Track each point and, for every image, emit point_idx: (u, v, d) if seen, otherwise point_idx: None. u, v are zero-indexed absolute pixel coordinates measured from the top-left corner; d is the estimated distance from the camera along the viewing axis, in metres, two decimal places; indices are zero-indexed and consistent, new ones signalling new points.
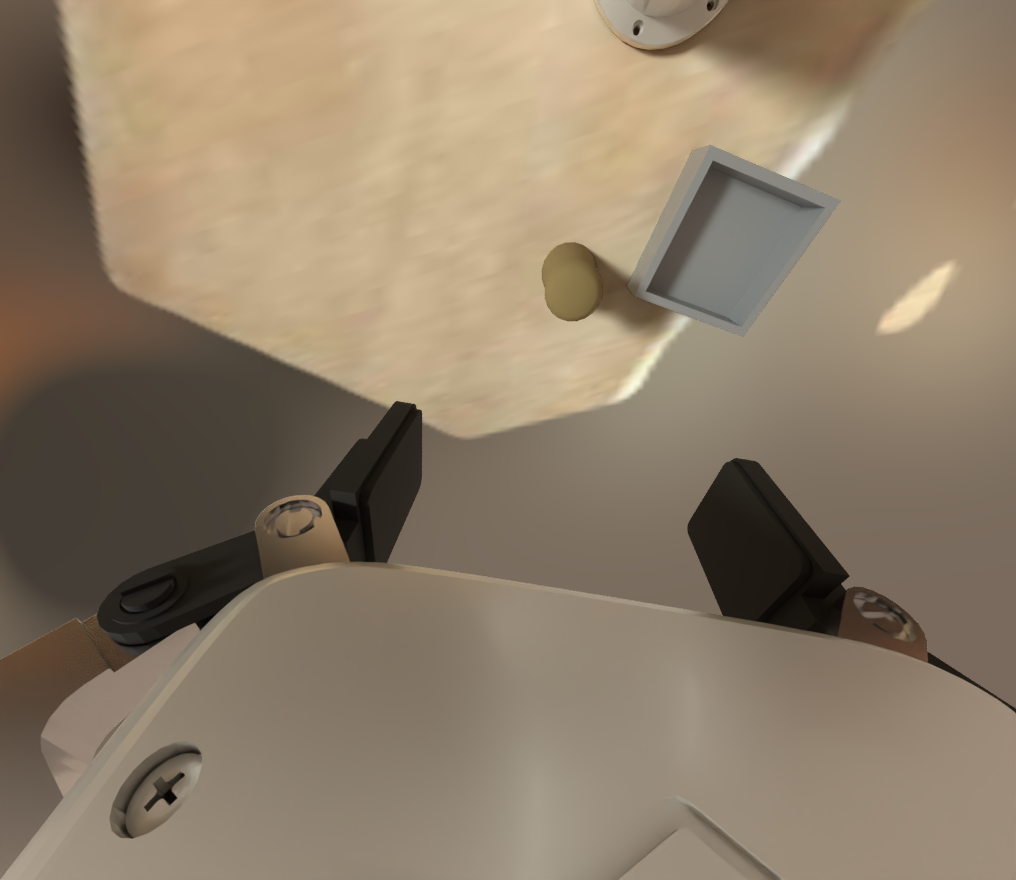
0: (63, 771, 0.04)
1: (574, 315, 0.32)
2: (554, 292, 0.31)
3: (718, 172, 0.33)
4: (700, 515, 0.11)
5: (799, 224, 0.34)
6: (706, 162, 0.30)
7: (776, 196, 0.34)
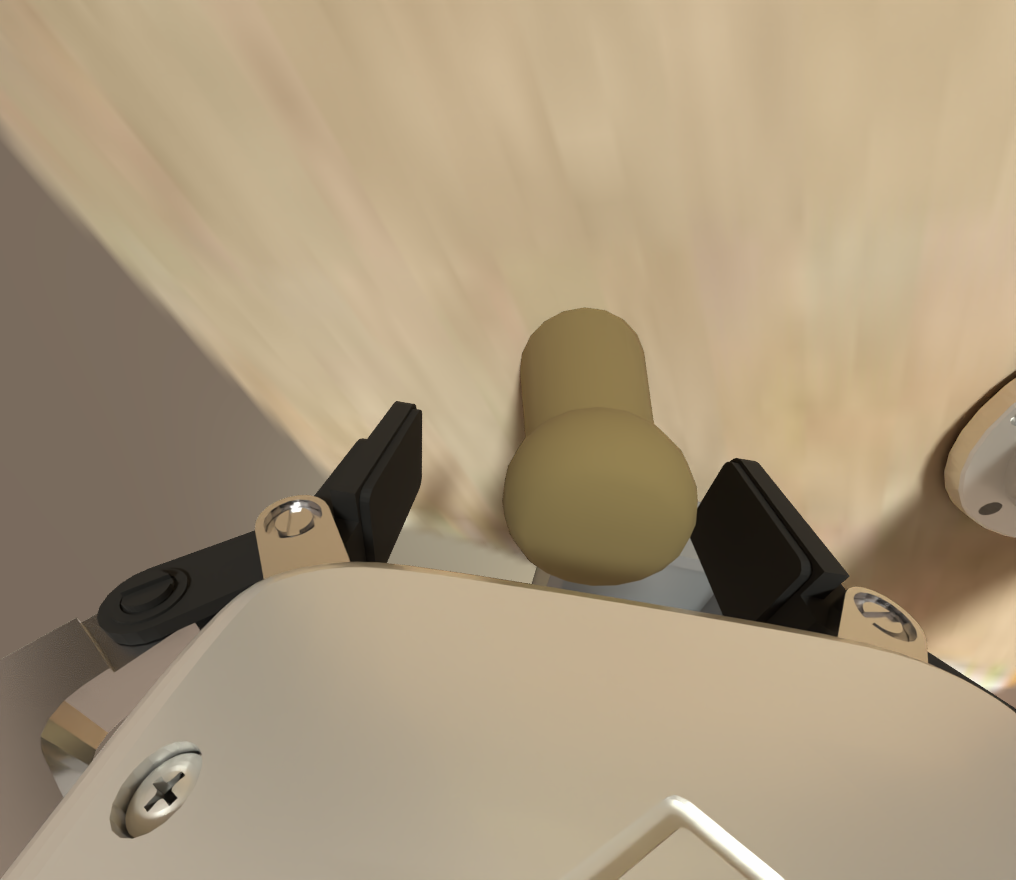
0: (63, 771, 0.04)
1: (530, 546, 0.09)
2: (604, 486, 0.08)
3: None
4: (700, 516, 0.11)
5: None
6: None
7: None
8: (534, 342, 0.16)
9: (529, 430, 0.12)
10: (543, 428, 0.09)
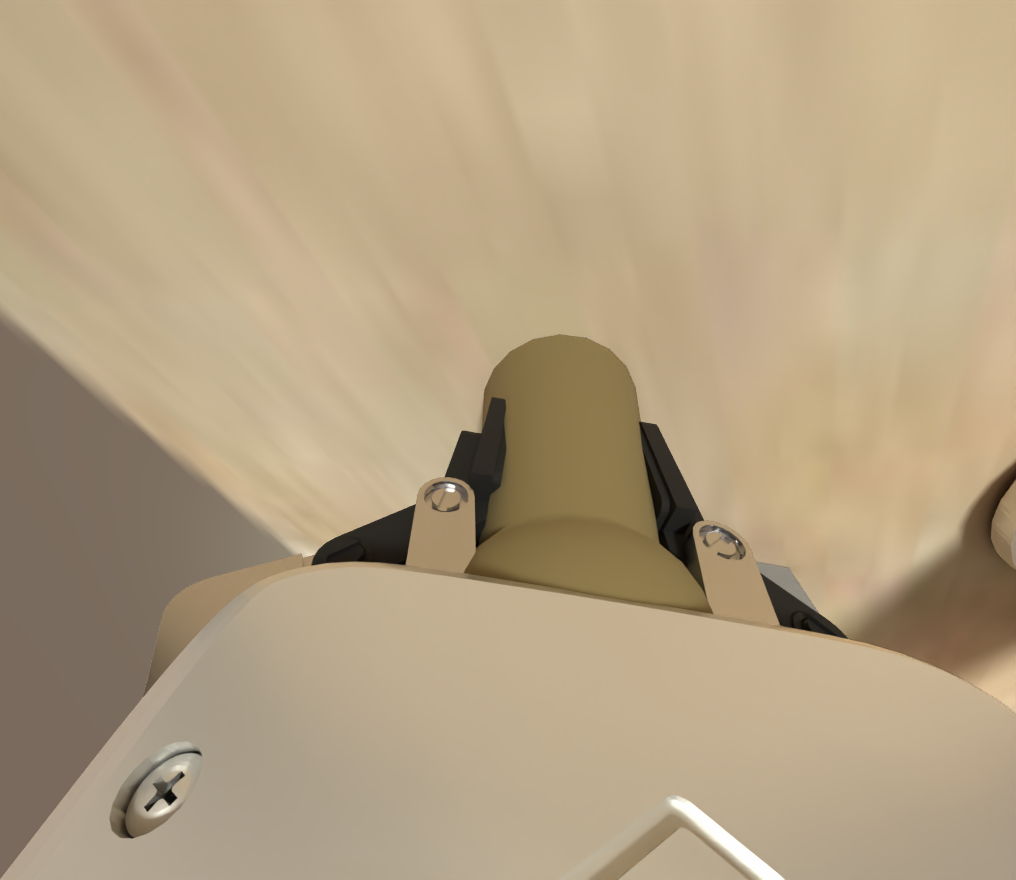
0: None
1: None
2: None
3: None
4: None
5: None
6: None
7: None
8: (497, 380, 0.13)
9: None
10: (485, 561, 0.06)
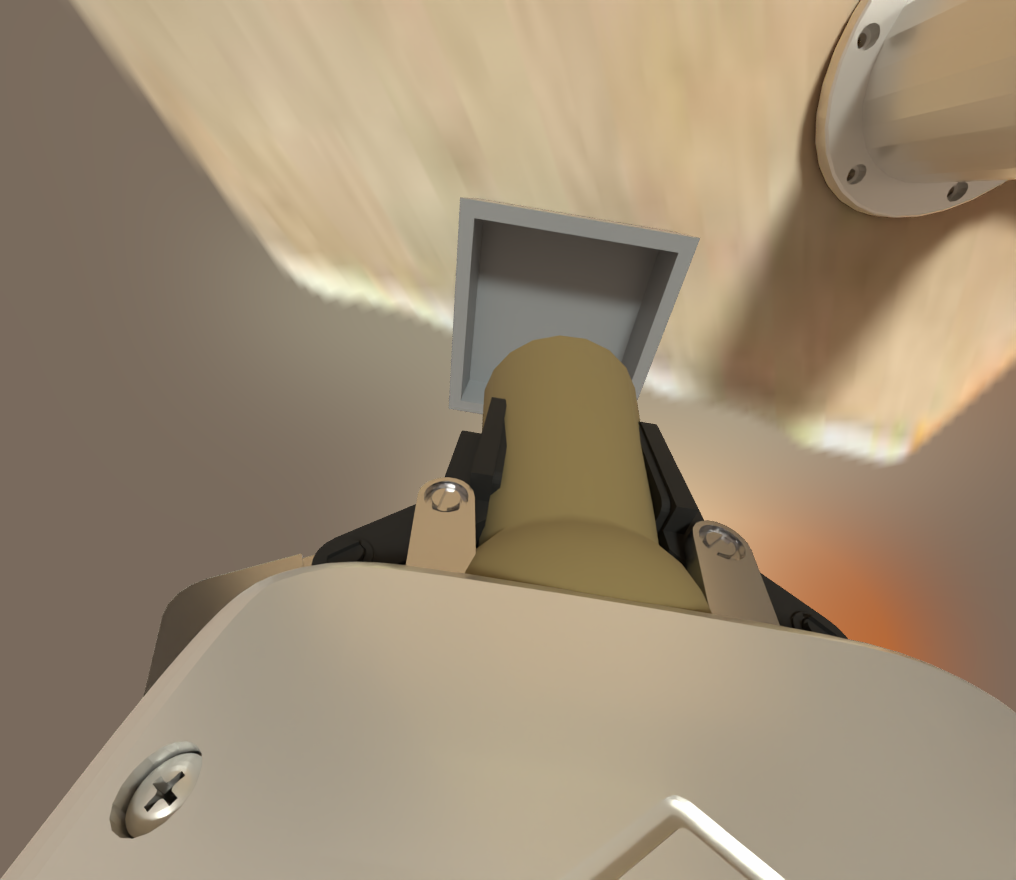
0: None
1: None
2: None
3: (648, 281, 0.23)
4: None
5: None
6: (676, 242, 0.19)
7: None
8: (497, 380, 0.13)
9: None
10: (485, 562, 0.06)
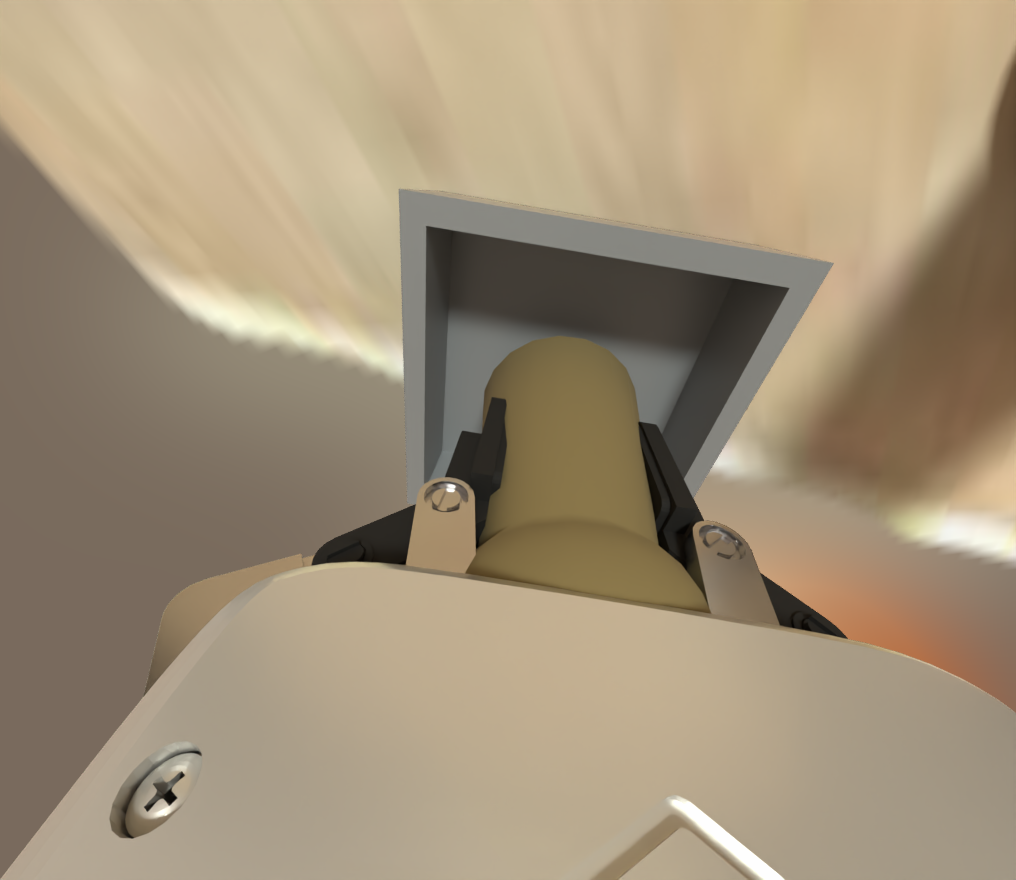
0: None
1: None
2: None
3: (712, 323, 0.15)
4: None
5: None
6: (789, 270, 0.10)
7: None
8: (497, 381, 0.13)
9: None
10: (485, 562, 0.06)
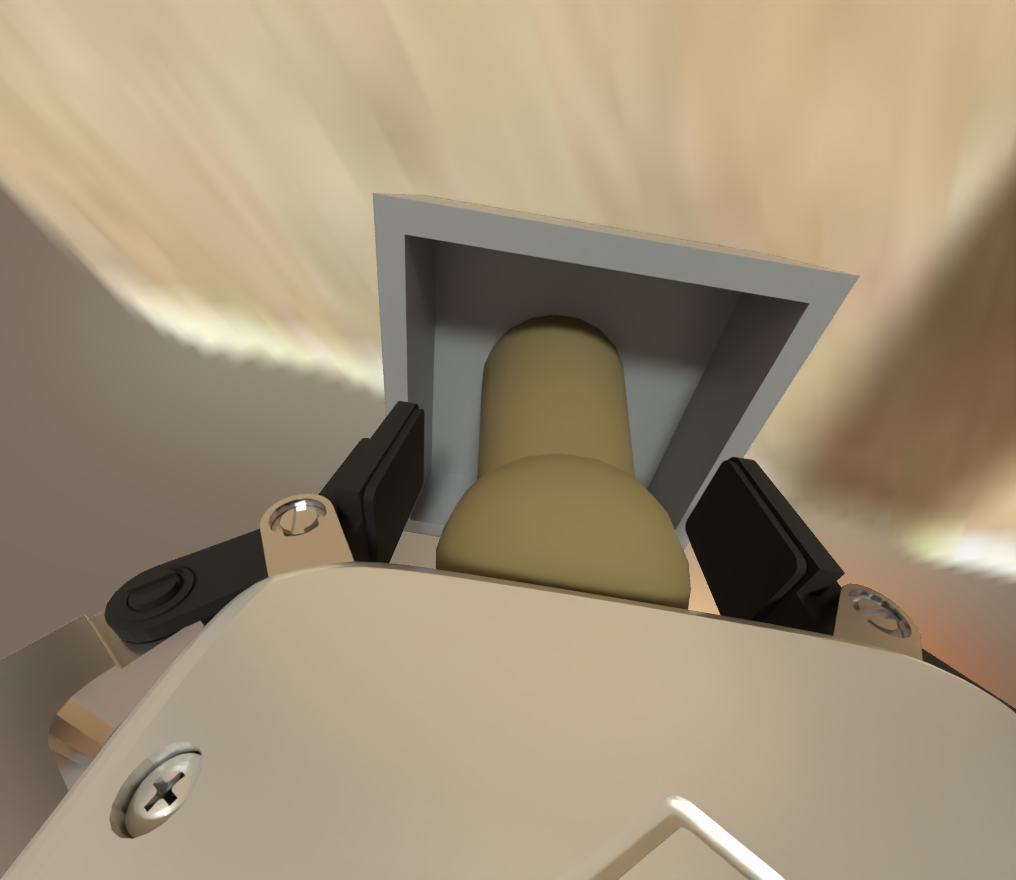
0: (70, 767, 0.04)
1: None
2: (562, 583, 0.06)
3: (719, 337, 0.14)
4: (698, 514, 0.11)
5: None
6: (809, 284, 0.09)
7: (659, 463, 0.17)
8: (496, 354, 0.14)
9: (479, 471, 0.10)
10: (485, 484, 0.07)
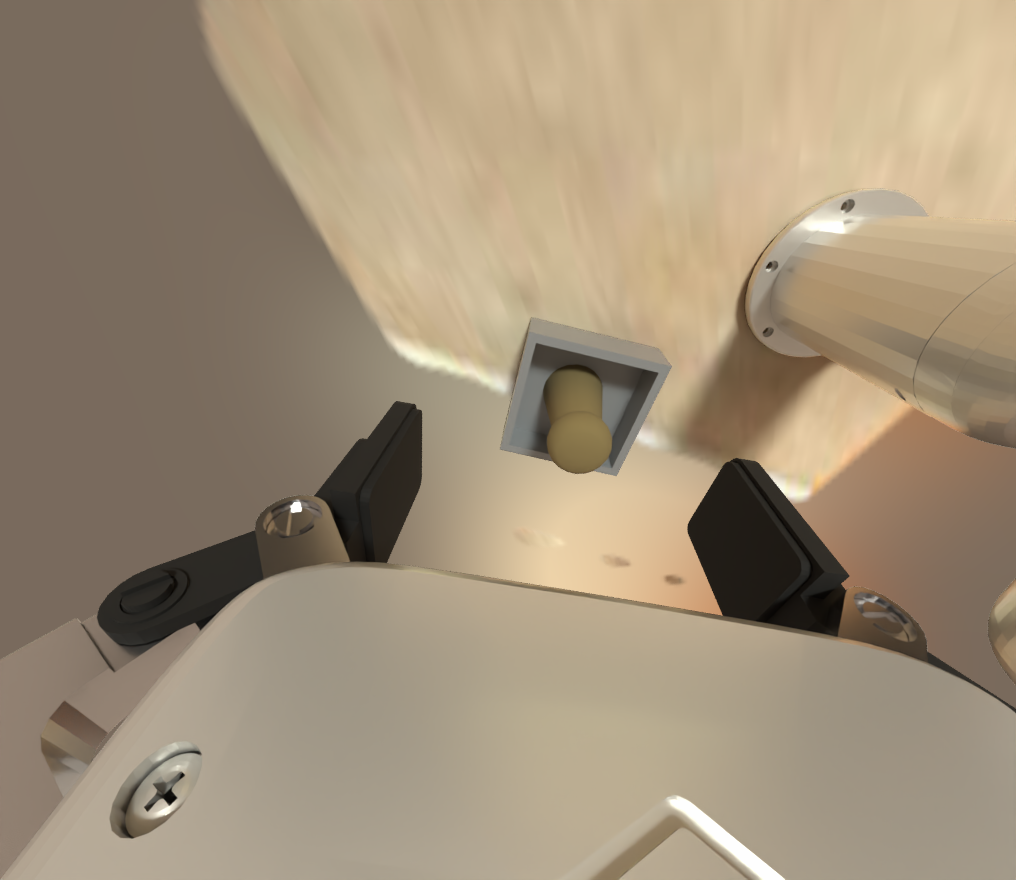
0: (63, 771, 0.04)
1: (557, 455, 0.28)
2: (583, 434, 0.27)
3: (639, 377, 0.35)
4: (700, 516, 0.11)
5: None
6: (657, 367, 0.31)
7: (616, 429, 0.39)
8: (553, 378, 0.35)
9: (554, 418, 0.31)
10: (564, 416, 0.28)
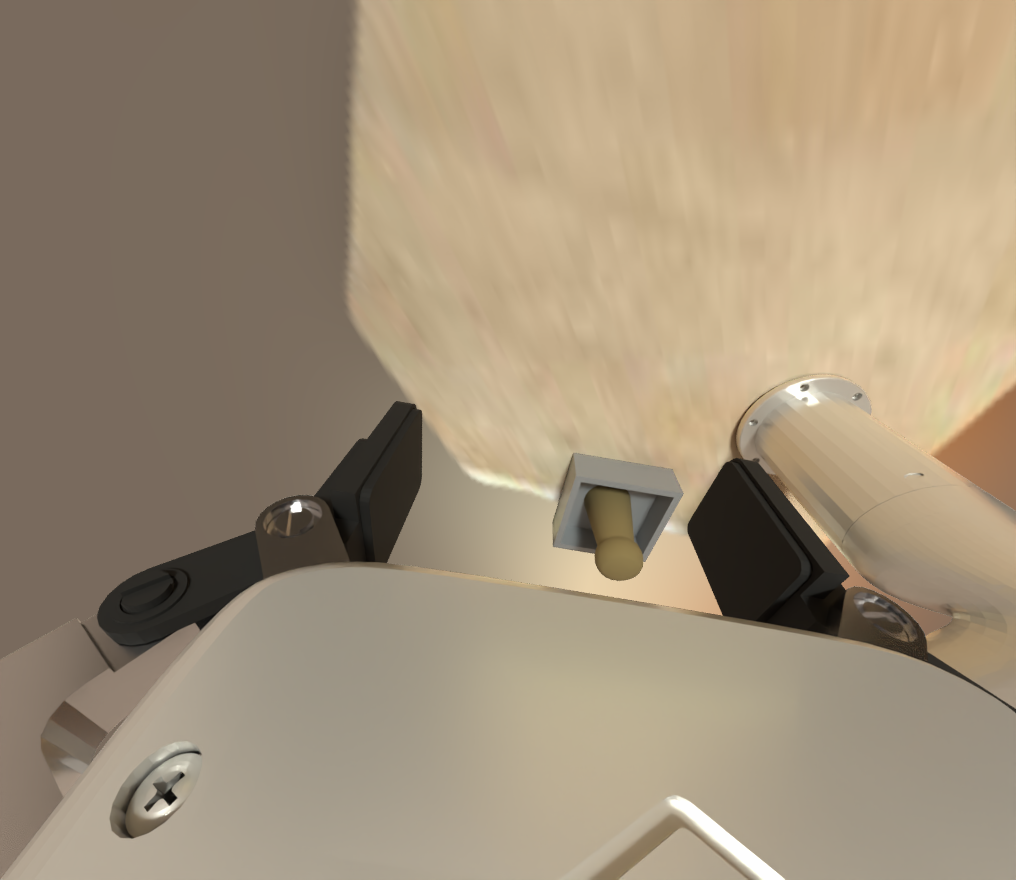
0: (63, 771, 0.04)
1: (604, 571, 0.39)
2: (623, 559, 0.38)
3: None
4: (700, 516, 0.11)
5: None
6: (673, 494, 0.42)
7: (642, 523, 0.49)
8: (592, 495, 0.46)
9: (598, 536, 0.42)
10: (607, 543, 0.39)
